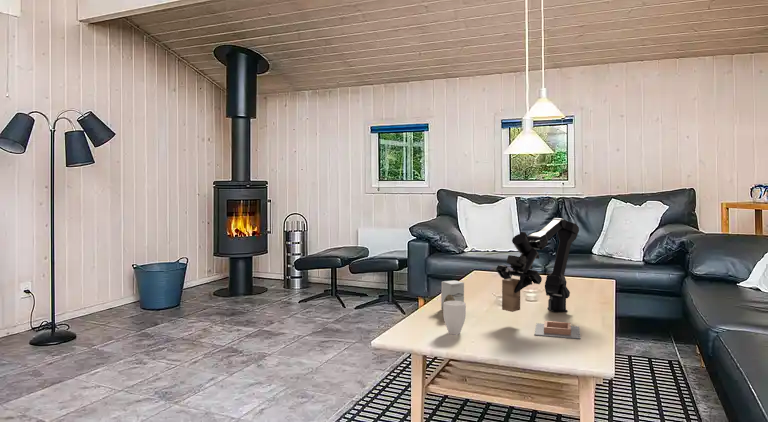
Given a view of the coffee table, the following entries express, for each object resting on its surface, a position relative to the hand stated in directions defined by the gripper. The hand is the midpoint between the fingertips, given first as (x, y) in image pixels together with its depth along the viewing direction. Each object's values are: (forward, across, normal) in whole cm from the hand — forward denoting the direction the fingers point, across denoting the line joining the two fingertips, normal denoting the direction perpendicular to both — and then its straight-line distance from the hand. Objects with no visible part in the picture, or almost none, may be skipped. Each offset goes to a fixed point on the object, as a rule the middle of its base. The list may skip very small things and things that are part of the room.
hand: (509, 291), depth 212 cm
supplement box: (+9, -31, +10) cm, 34 cm away
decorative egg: (+17, -22, +2) cm, 28 cm away
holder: (+5, +18, +14) cm, 23 cm away
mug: (+26, -8, -6) cm, 28 cm away
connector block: (+4, 0, +6) cm, 8 cm away
